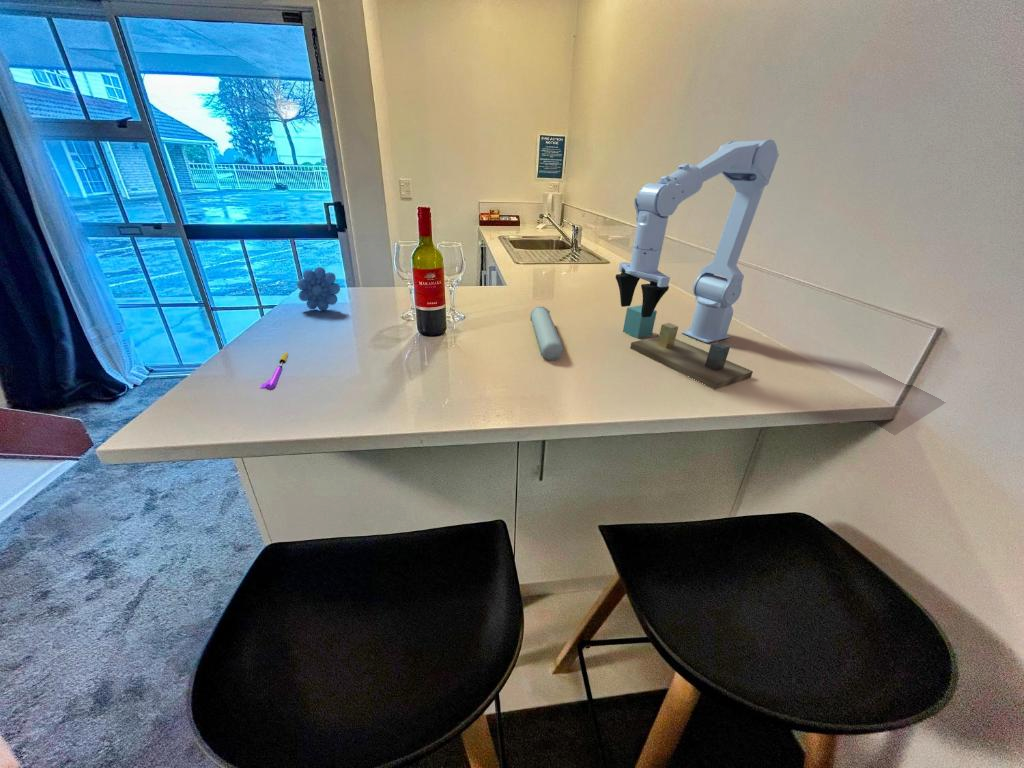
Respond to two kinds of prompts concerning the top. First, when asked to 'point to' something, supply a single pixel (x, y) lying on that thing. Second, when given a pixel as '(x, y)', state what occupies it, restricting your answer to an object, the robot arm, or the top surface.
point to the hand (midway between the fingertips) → (635, 311)
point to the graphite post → (717, 356)
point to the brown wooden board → (691, 362)
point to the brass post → (667, 335)
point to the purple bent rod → (275, 375)
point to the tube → (546, 333)
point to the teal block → (638, 322)
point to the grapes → (318, 288)
